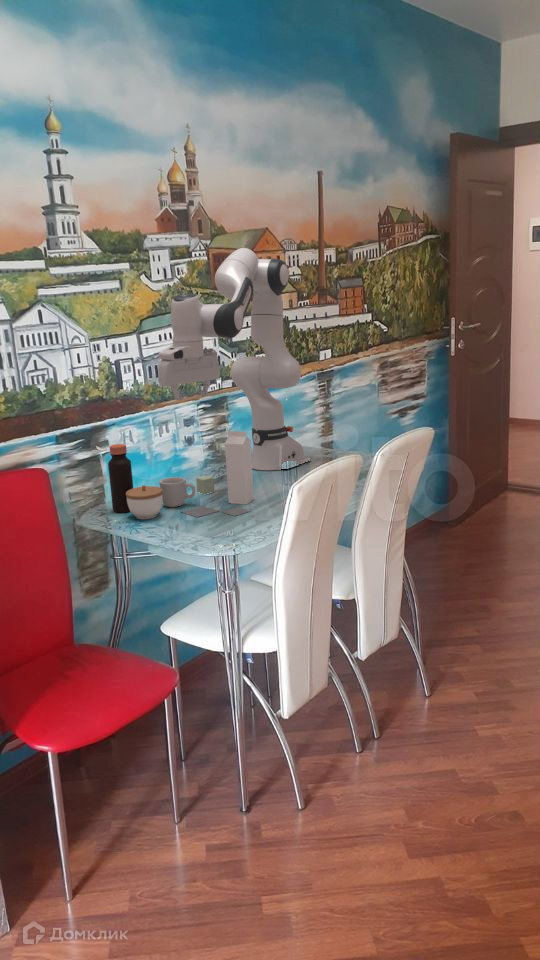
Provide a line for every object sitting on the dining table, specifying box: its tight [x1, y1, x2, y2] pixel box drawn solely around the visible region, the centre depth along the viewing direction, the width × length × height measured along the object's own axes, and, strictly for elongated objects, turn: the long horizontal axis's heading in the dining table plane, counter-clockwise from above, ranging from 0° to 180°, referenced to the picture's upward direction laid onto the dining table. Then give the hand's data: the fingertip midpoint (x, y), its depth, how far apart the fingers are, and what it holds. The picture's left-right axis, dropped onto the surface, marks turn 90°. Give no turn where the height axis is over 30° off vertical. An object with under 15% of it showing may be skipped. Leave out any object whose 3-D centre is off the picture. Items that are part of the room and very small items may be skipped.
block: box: [195, 475, 216, 495], centre depth 267 cm, size 4×4×5 cm
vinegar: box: [107, 443, 134, 514], centre depth 251 cm, size 7×7×20 cm
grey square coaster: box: [222, 506, 251, 517], centre depth 245 cm, size 6×6×1 cm
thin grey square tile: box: [181, 505, 219, 518], centre depth 247 cm, size 8×8×1 cm
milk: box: [224, 430, 255, 505], centre depth 253 cm, size 6×6×22 cm
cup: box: [159, 476, 196, 508], centre depth 254 cm, size 11×8×8 cm
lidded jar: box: [126, 484, 164, 520], centre depth 244 cm, size 11×11×9 cm
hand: (191, 397), depth 246 cm, fingers open, 8 cm apart
